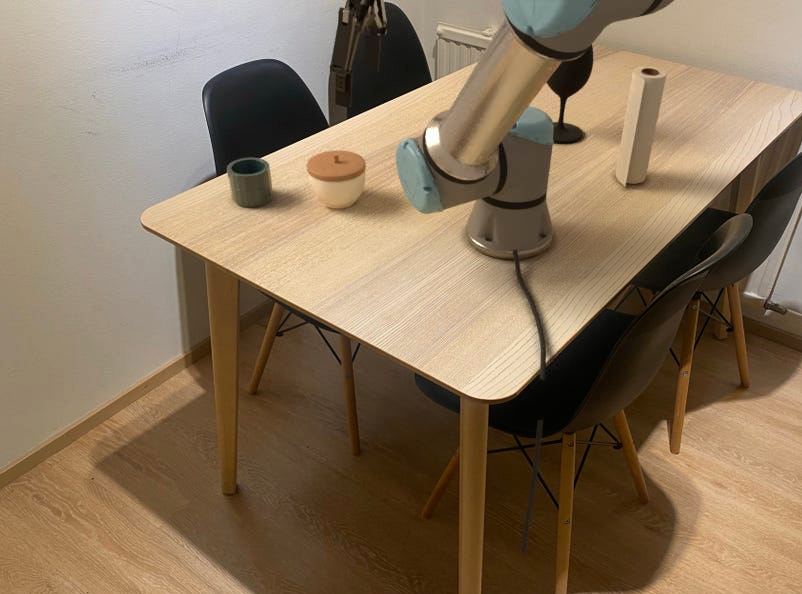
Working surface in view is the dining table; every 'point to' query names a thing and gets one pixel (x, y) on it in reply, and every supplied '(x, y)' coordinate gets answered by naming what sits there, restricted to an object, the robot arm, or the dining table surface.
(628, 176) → the paper towel roll
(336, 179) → the trinket box
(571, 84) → the wine glass
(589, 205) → the dining table surface
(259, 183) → the grey-green hollow cylinder
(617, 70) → the dining table surface
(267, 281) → the dining table surface
